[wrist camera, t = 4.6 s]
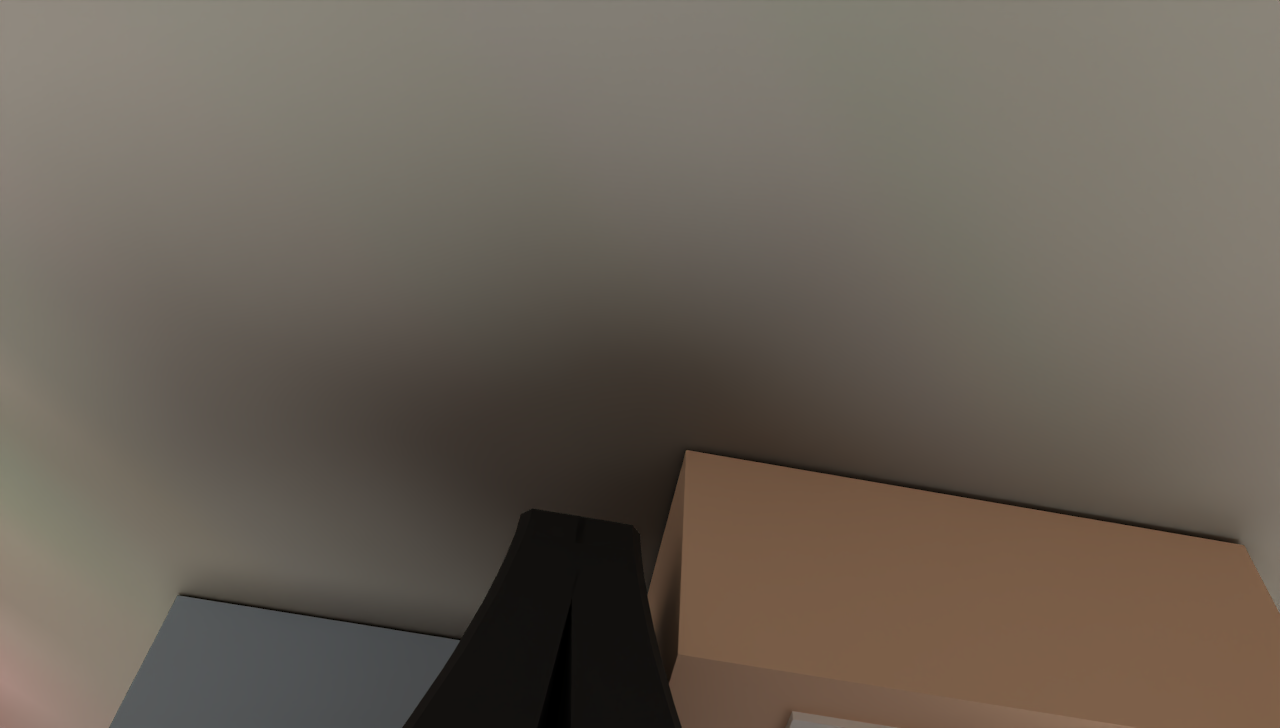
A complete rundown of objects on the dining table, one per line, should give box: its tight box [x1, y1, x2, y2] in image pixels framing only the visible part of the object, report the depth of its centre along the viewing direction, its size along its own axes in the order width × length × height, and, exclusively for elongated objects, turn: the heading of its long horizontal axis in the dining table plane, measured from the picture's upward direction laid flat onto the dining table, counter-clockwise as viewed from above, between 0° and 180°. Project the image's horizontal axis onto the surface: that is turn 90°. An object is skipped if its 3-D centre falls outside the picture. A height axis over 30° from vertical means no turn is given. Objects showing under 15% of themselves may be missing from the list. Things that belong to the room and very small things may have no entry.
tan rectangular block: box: [647, 450, 1280, 728], centre depth 13 cm, size 4×7×3 cm, turn 80°
